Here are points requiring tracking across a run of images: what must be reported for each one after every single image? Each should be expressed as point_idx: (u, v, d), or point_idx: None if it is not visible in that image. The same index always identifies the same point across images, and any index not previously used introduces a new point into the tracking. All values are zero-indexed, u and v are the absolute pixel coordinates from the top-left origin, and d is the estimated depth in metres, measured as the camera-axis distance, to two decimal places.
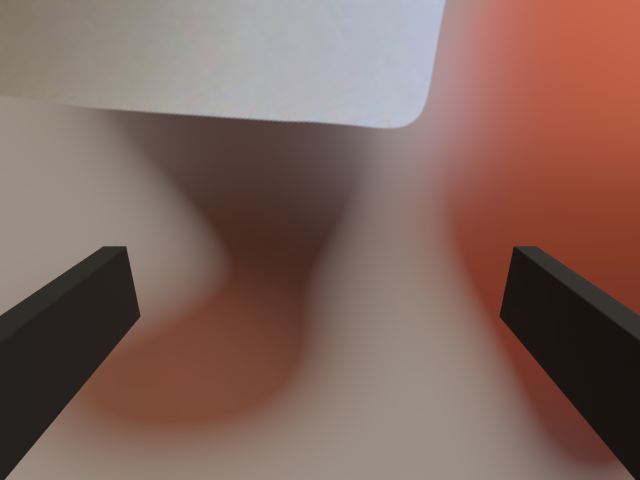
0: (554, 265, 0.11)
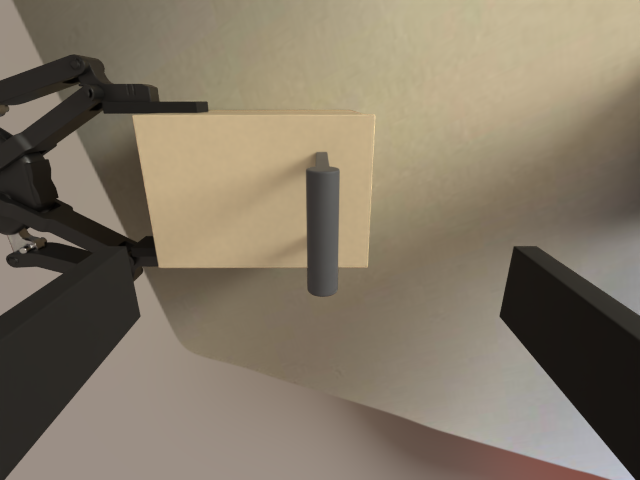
0: (554, 265, 0.11)
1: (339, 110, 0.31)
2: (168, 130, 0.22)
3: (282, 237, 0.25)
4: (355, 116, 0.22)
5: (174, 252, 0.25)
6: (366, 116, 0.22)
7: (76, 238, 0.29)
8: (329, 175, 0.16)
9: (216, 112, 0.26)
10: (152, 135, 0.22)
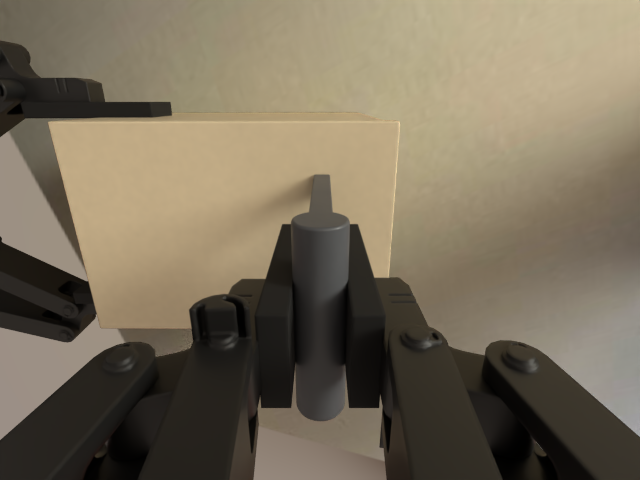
0: (353, 237, 0.13)
1: None
2: (101, 143, 0.15)
3: None
4: (371, 123, 0.15)
5: (120, 308, 0.18)
6: (387, 123, 0.15)
7: (0, 281, 0.22)
8: (331, 234, 0.09)
9: (180, 116, 0.20)
10: (78, 151, 0.16)
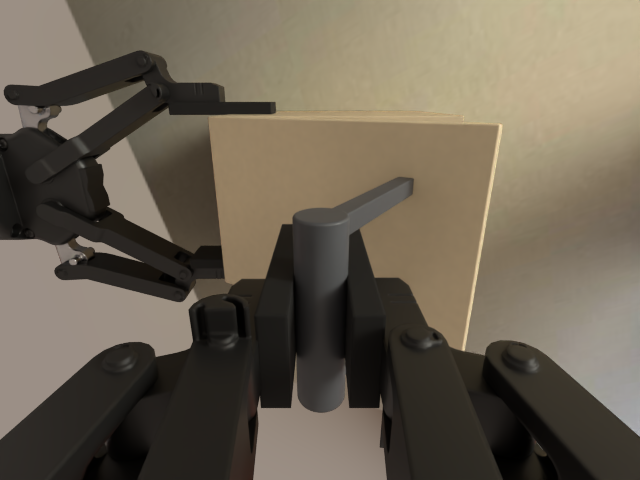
0: (353, 237, 0.13)
1: (408, 111, 0.29)
2: (236, 135, 0.19)
3: None
4: (464, 126, 0.13)
5: (238, 270, 0.22)
6: (483, 126, 0.13)
7: (131, 249, 0.27)
8: (316, 229, 0.09)
9: (288, 113, 0.24)
10: (223, 140, 0.20)
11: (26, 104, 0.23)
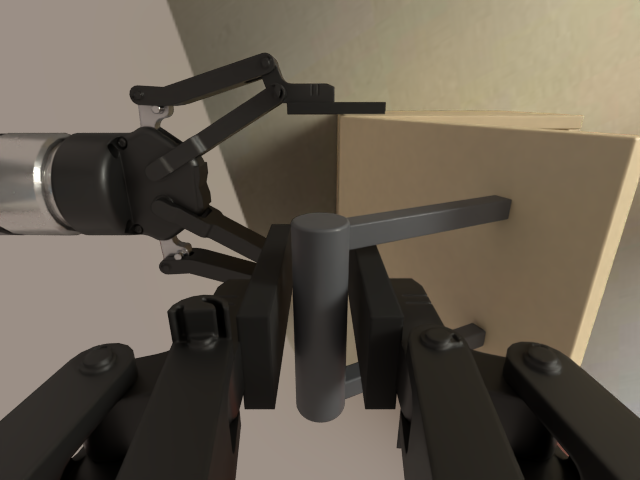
0: None
1: None
2: (358, 134, 0.20)
3: None
4: (582, 137, 0.10)
5: None
6: (610, 139, 0.09)
7: (235, 244, 0.28)
8: (300, 233, 0.09)
9: (396, 113, 0.25)
10: (348, 139, 0.21)
11: (150, 104, 0.24)
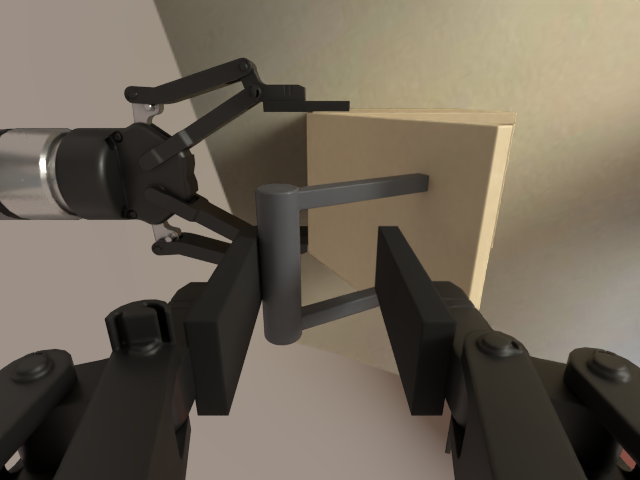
0: (397, 240, 0.13)
1: None
2: (321, 128, 0.23)
3: None
4: (469, 126, 0.13)
5: (315, 243, 0.27)
6: (484, 127, 0.13)
7: (220, 227, 0.31)
8: (261, 196, 0.12)
9: None
10: (313, 132, 0.24)
11: (142, 103, 0.27)
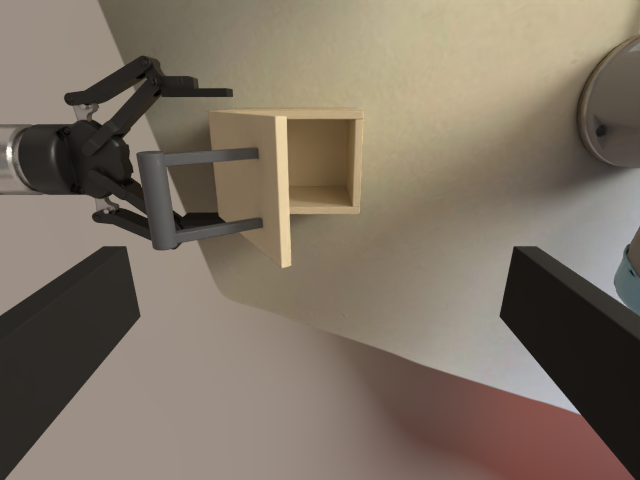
0: (554, 265, 0.11)
1: None
2: (215, 122, 0.32)
3: (248, 216, 0.29)
4: (266, 117, 0.23)
5: (221, 207, 0.36)
6: (271, 117, 0.22)
7: (144, 208, 0.41)
8: (138, 156, 0.21)
9: None
10: (212, 125, 0.33)
11: (78, 104, 0.37)
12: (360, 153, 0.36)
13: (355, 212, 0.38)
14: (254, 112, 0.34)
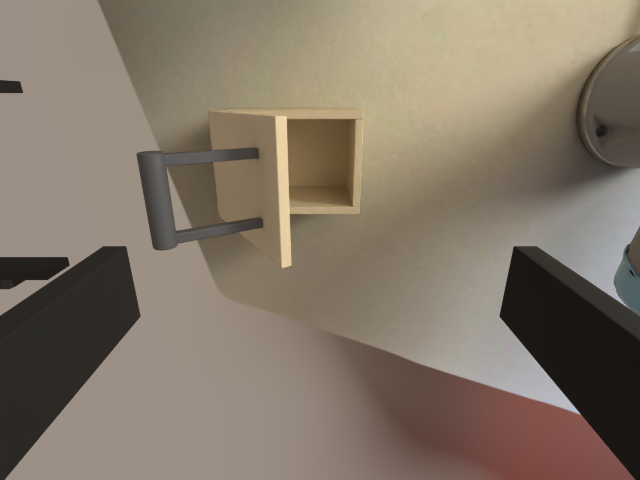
0: (554, 265, 0.11)
1: None
2: (215, 122, 0.32)
3: (248, 216, 0.29)
4: (266, 117, 0.23)
5: (221, 207, 0.36)
6: (271, 117, 0.22)
7: None
8: (139, 156, 0.21)
9: None
10: (212, 125, 0.33)
11: None
12: (360, 153, 0.36)
13: (355, 212, 0.38)
14: (254, 112, 0.34)
